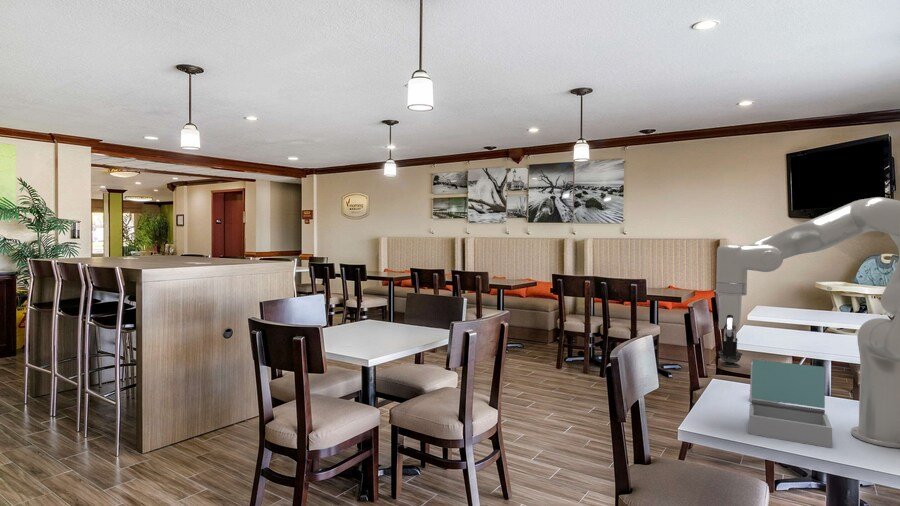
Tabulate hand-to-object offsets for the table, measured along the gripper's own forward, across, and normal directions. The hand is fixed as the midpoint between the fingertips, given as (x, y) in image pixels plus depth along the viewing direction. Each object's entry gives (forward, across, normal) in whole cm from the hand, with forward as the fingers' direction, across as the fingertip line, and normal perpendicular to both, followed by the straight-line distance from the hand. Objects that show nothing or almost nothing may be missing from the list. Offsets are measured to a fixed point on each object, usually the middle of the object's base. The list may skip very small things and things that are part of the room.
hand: (729, 352), depth 144 cm
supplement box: (+21, -31, +9) cm, 38 cm away
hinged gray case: (+21, -2, +14) cm, 25 cm away
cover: (+9, -8, +14) cm, 19 cm away
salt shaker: (+4, 0, 0) cm, 4 cm away
